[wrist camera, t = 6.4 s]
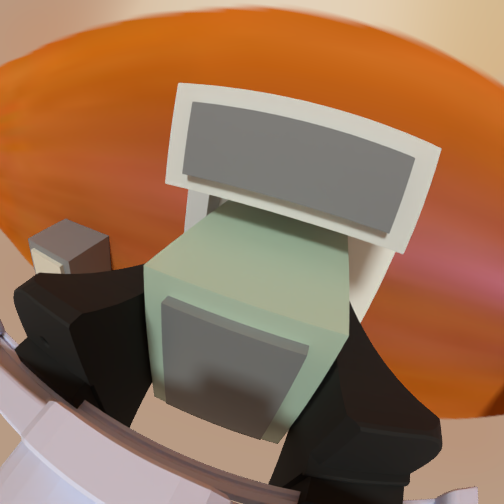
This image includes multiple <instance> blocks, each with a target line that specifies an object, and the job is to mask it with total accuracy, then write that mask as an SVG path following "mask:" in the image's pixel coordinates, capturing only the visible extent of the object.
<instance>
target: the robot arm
mask: <svg viewBox="0 0 504 504" xmlns="http://www.w3.org/2000/svg"><path fill="white" fill-rule="evenodd" d="M145 264H146V263H145ZM145 264H142V265H138V266H134V267H129V268H124V269H119V270H112V271H104V272H97V273H83V274H58V273H41V272H39V273H37V274H36V275H35V276H33V277H32V278H31V279H29V280H28V281H26V282H25V283H24V284H22V285H21V286H19V287H18V288H17V289H16V290H15V291H14V304H15V307H16V310H17V313H18V315H19V318H20V320H21V323H22V325H23V327H24V330H25V332H26V334H27V338H26V339H25V340H24V341H23V342H22V343H21V344H19V345H18V344H17V343H16V342H15V341H14V340H13V339H12V338H11V337H10V336H9V335H8V334H7V333H6V331H5V330H4V326H3V324H2V322H1V320H0V413H1V415H2V416H3V417H4V418H5V419H6V420H7V422H8V423H9V424H10V425H11V426H12V427H13V428H14V429H15V430H16V431H17V433H18V434H19V435H20V436H21V439H22V441H21V442H20V443H19V444H18V446H17V447H16V448H15V450H14V451H13V452H12V453H11V455H10V456H9V457H8V458H7V460H6V461H5V462H4V463H3V465H2V466H1V467H0V504H238V503H235V502H233V501H236V502H240V503H243V504H478V487H475V486H474V487H468V488H462V489H456V490H452V491H449V492H446V493H444V494H442V495H440V496H438V497H437V498H435V499H423V500H403V492H404V486H407V485H408V484H409V482H410V473H412V472H414V471H416V470H417V469H419V468H421V467H422V466H424V465H425V464H427V463H429V462H430V461H431V460H432V459H434V458H435V457H436V456H437V455H438V453H439V452H440V451H441V449H442V435H441V426H440V419H439V418H438V417H437V416H436V415H435V414H434V413H432V412H431V411H430V410H429V409H428V408H426V407H425V406H424V405H423V404H422V403H421V402H419V401H418V400H417V399H416V398H415V397H414V396H413V395H412V394H411V393H410V392H409V391H408V390H407V389H406V388H405V387H404V386H403V384H402V383H401V382H400V381H399V380H398V379H397V378H396V376H395V375H394V374H393V373H392V372H391V370H390V369H389V368H388V367H387V365H386V364H385V363H384V361H383V360H382V358H381V357H380V356H379V354H378V353H377V351H376V350H375V348H374V347H373V345H372V343H371V342H370V340H369V338H368V337H367V335H366V333H365V331H364V330H363V328H362V326H361V324H360V322H359V320H358V318H357V316H356V314H355V312H354V310H353V307H352V305H351V303H350V301H349V336H348V338H347V340H346V342H345V344H344V345H343V347H342V349H341V350H340V352H339V354H338V356H337V357H336V359H335V361H334V362H333V364H332V366H331V367H330V369H329V370H328V372H327V374H326V375H325V377H324V378H323V380H322V382H321V383H320V385H319V386H318V388H317V389H316V391H315V392H314V394H313V395H312V397H311V398H310V400H309V401H308V403H307V404H306V406H305V407H304V409H303V410H302V412H301V413H300V414H299V416H298V417H297V419H296V420H295V421H294V423H293V424H292V426H291V427H290V428H289V431H288V434H287V437H286V440H285V443H284V445H283V448H282V451H281V454H280V456H279V459H278V462H277V464H276V467H275V469H274V472H273V474H272V477H271V479H270V481H269V484H265V483H261V482H258V481H254V480H251V479H247V478H244V477H240V476H237V475H234V474H231V473H228V472H225V471H222V470H220V469H217V468H214V467H211V466H209V465H206V464H204V463H201V462H198V461H196V460H194V459H191V458H189V457H187V456H184V455H182V454H180V453H177V452H175V451H173V450H171V449H169V448H167V447H165V446H163V445H160V444H158V443H156V442H154V441H153V440H151V439H149V438H147V437H145V436H143V435H141V434H139V433H137V432H136V431H134V430H132V429H130V425H131V423H132V421H133V419H134V417H135V415H136V412H137V410H138V408H139V406H140V404H141V402H142V400H143V398H144V396H145V394H146V392H147V390H148V388H149V387H150V385H151V383H152V375H151V367H150V359H149V349H148V339H147V327H146V313H145V294H144V265H145ZM231 500H233V501H231Z"/></svg>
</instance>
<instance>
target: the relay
mask: <svg viewBox="0 0 504 504" xmlns="http://www.w3.org/2000/svg"><path fill="white" fill-rule="evenodd" d="M28 241H29V246H30V251H31V256H32V260H33V265H34V269H35V273H36V274H37V273H39V272H41V273H58V274H83V273H97V272H104V271H111V260H110V247H109V236H108V235H105V234H103V233H100V232H97V231H95V230H92V229H90V228H87V227H85V226H82V225H80V224H77V223H75V222H72V221H70V220H68V219H64V220H62V221H60V222H58V223H56V224H54V225H52V226H51V227H49V228H47V229H45V230H43V231H41V232H39V233H38V234H36V235H34V236H32V237H30V238H29V239H28Z"/></svg>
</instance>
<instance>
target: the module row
mask: <svg viewBox="0 0 504 504" xmlns="http://www.w3.org/2000/svg"><path fill="white" fill-rule="evenodd" d="M441 149H442V148H439V147H437V146H435V145H433V144H431V143H428V142H426V141H424V140H422V139H419V138H417V137H415V136H412V135H410V134H407V133H405V132H402V131H400V130H397V129H394V128H392V127H389V126H386V125H384V124H381V123H378V122H375V121H372V120H369V119H366V118H363V117H360V116H357V115H354V114H351V113H347V112H344V111H341V110H337V109H334V108H330V107H326V106H323V105H319V104H315V103H311V102H307V101H302V100H298V99H293V98H289V97H284V96H279V95H274V94H269V93H263V92H257V91H251V90H244V89H237V88H230V87H221V86H212V85H202V84H189V83H178V89H177V94H176V100H175V107H174V113H173V120H172V127H171V135H170V143H169V151H168V160H167V170H166V181H165V183H166V184H170V185H174V186H178V187H182V188H186V189H189V190H188V199H187V208H186V218H185V229H184V233H185V232H186V231H188V230H189V229H190V228H191V227H193V226H194V225H195V224H197V223H198V222H199V221H201V220H202V219H203V218H205V217H206V216H207V215H209V214H210V213H211V212H213V211H214V210H215V209H217V208H218V207H219V206H221V205H222V204H223V203H225V202H226V201H228V200H231V201H235V202H239V203H242V204H246V205H250V206H253V207H257V208H260V209H264V210H267V211H271V212H274V213H277V214H281V215H284V216H287V217H291V218H294V219H297V220H301V221H304V222H307V223H311V224H314V225H317V226H320V227H323V228H327V229H330V230H333V231H336V232H339V233H342V234H345V235H348V255H349V301H350V303H351V305H352V307H353V310H354V312H355V314H356V316H357V318H358V320H359V322H360V323H361V321H362V319H363V317H364V315H365V314H366V312H367V310H368V308H369V306H370V304H371V302H372V300H373V298H374V296H375V294H376V292H377V290H378V288H379V286H380V284H381V282H382V280H383V278H384V276H385V273H386V271H387V269H388V267H389V265H390V263H391V260H392V258H393V256H394V254H395V252H398V253H401V254H404V252H405V249H406V247H407V245H408V242H409V240H410V238H411V235H412V233H413V230H414V228H415V225H416V223H417V220H418V218H419V215H420V213H421V210H422V207H423V204H424V202H425V199H426V196H427V193H428V190H429V187H430V184H431V181H432V178H433V175H434V172H435V169H436V166H437V162H438V159H439V156H440V152H441ZM288 431H289V430H288ZM288 431H287V432H288Z"/></svg>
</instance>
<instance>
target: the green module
mask: <svg viewBox="0 0 504 504" xmlns="http://www.w3.org/2000/svg"><path fill="white" fill-rule="evenodd" d="M144 294H145V313H146V327H147V339H148V349H149V359H150V367H151V375H152V383H153V390H154V396H155V397H157V398H159V399H161V400H163V401H165V402H166V403H167V404H169V405H171V406H173V407H176V408H178V409H180V410H182V411H184V412H187V413H189V414H191V415H194V416H196V417H198V418H201V419H203V420H206V421H208V422H211V423H213V424H216V425H219V426H221V427H224V428H226V429H230V430H232V431H235V432H238V433H241V434H244V435H247V436H250V437H253V438H256V439H259V440H260V439H263V440H266V441H269V442H273V443H277V444H278V443H279V441H280V440H281V439H282V438H283V436H284V435H285V434H286V432H287V431H288V430H289V428H290V427H291V426H292V424H293V423H294V421H295V420H296V419H297V417H298V416H299V414H300V413H301V412H302V410H303V409H304V407H305V406H306V404H307V403H308V401H309V400H310V398H311V397H312V395H313V394H314V392H315V391H316V389H317V388H318V386H319V385H320V383H321V382H322V380H323V378H324V377H325V375H326V374H327V372H328V370H329V369H330V367H331V366H332V364H333V362H334V361H335V359H336V357H337V356H338V354H339V352H340V350H341V349H342V347H343V345H344V344H345V342H346V340H347V338H348V336H349V255H348V235H345V234H342V233H339V232H336V231H333V230H330V229H327V228H323V227H320V226H317V225H314V224H311V223H307V222H304V221H301V220H297V219H294V218H291V217H287V216H284V215H281V214H277V213H274V212H271V211H267V210H264V209H260V208H257V207H253V206H250V205H246V204H242V203H239V202H235V201H231V200H228V201H226V202H225V203H223V204H222V205H221V206H219V207H218V208H217V209H215V210H214V211H213V212H211V213H210V214H209V215H207V216H206V217H205V218H203V219H202V220H201V221H199V222H198V223H197V224H195V225H194V226H193V227H191V228H190V229H189V230H188V231H186V232H185V233H184V234H182V235H181V236H180V237H178V238H177V239H176V240H175V241H173V242H172V243H171V244H170V245H168V246H167V247H166V248H164V249H163V250H162V251H161V252H159V253H158V254H157V255H156V256H154V257H153V258H152V259H151V260H149V261H148V262H147V263H146V264H145V265H144Z"/></svg>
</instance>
